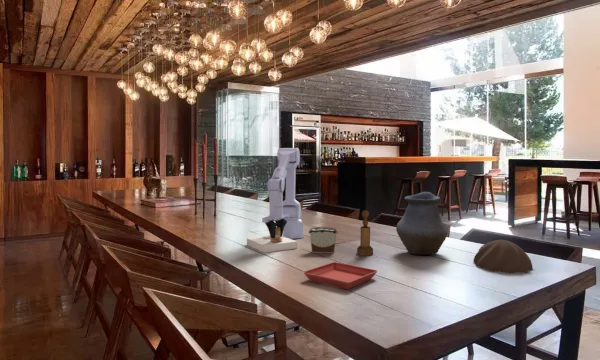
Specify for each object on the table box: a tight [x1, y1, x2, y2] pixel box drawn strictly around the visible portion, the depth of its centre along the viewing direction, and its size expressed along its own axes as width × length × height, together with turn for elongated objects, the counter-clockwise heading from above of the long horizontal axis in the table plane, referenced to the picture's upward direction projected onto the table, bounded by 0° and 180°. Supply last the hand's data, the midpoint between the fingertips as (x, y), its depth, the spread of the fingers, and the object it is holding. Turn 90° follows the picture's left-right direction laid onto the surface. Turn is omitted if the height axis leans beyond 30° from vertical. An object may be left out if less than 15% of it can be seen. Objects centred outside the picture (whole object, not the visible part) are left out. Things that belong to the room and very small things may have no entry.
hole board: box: [246, 235, 298, 253], centre depth 191 cm, size 16×18×3 cm
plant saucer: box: [303, 261, 378, 290], centre depth 141 cm, size 18×18×3 cm
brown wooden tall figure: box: [356, 209, 374, 256], centre depth 176 cm, size 7×6×18 cm
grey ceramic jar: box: [395, 191, 448, 256], centre depth 178 cm, size 21×22×25 cm
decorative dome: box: [473, 239, 534, 274], centre depth 158 cm, size 19×20×10 cm
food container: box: [308, 226, 339, 254], centre depth 182 cm, size 12×6×10 cm, turn 84°
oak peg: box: [270, 226, 282, 243], centre depth 187 cm, size 5×5×8 cm
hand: (276, 237), depth 187 cm, fingers closed on oak peg, 4 cm apart
